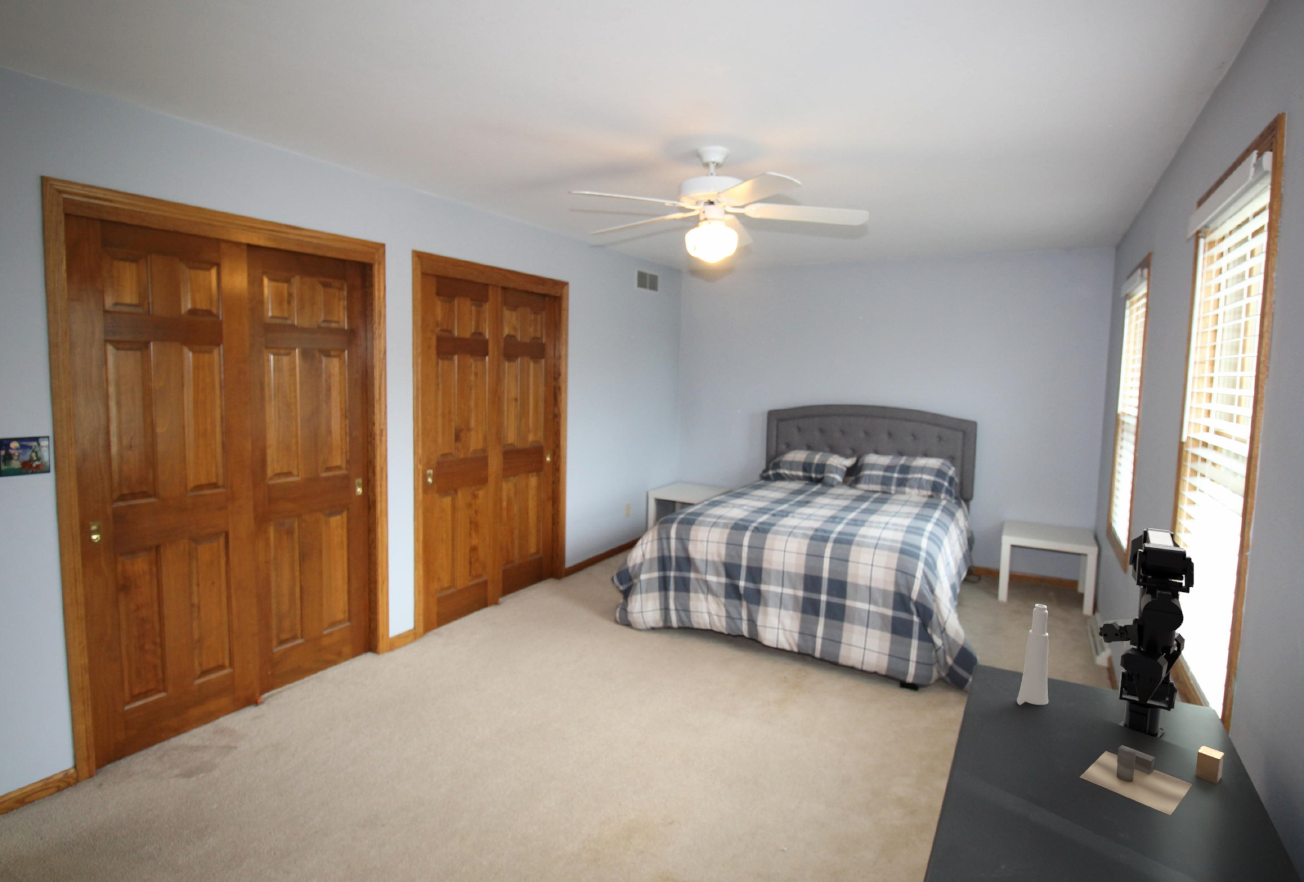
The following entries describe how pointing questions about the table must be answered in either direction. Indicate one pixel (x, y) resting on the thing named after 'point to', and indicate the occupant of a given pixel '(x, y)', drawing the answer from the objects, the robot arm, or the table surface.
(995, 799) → the table surface
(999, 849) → the table surface
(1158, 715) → the robot arm
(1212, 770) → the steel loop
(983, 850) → the table surface
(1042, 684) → the cosmetic bottle
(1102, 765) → the maple peg board
